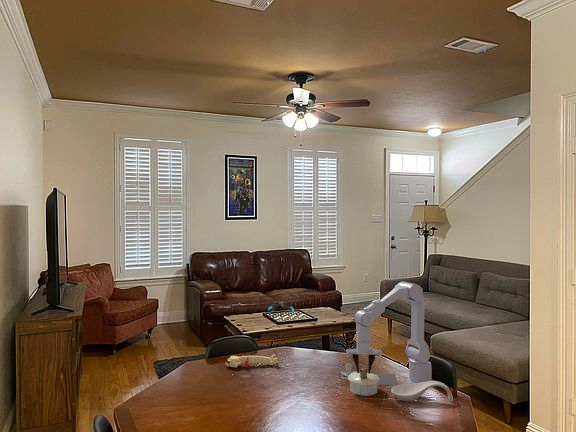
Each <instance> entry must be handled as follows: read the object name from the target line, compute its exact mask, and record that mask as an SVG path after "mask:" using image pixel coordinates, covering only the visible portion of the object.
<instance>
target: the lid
mask: <svg viewBox="0 0 576 432" xmlns="http://www.w3.org/2000/svg"><path fill="white" fill-rule="evenodd" d="M371 373H372V372H370V374H368V368H365V367H361V368H359V373H352V374H350V375H348V377H347V378H348V379H347V380H348V381H349V383H350V382H352V383H355V384H361V385H371V384H376V383H378V382H379V380H380V378H379V377H378V376H377V375H375V374H371Z"/></svg>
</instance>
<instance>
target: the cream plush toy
mask: <svg viewBox="0 0 576 432" xmlns="http://www.w3.org/2000/svg"><path fill="white" fill-rule="evenodd" d="M248 354H249V353H246V355H241V356H240V355H239V356H238V355H231V356H229V358H227V359H226V363H225V365H226V367H231V368H238V366H240V365H241V364H242V365H243V364H244V366H245V367H246V369H248V368H249V364H261V365H268V366H274V365H275V367H278V366H279V361H278V358H277V356H278V351H277V350H276V349H272V355H271V356H264V355H248Z"/></svg>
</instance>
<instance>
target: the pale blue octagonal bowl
mask: <svg viewBox="0 0 576 432" xmlns="http://www.w3.org/2000/svg"><path fill="white" fill-rule="evenodd" d="M349 389H350V390H349V391H350V392H351V393H352V394H354V395H359V396H373V395H375V394H377V393H378V385H377V383H376V384H371V385H361V384H355V383H352V382H350V381H349Z"/></svg>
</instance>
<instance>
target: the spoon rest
mask: <svg viewBox="0 0 576 432" xmlns="http://www.w3.org/2000/svg"><path fill="white" fill-rule="evenodd" d="M433 387H439V388H441V389H443V390H445V391H446V394H447V398H448V400H449V402H451V403H453V402H454V397H453V394H452V392H451V390H450V388H449V387H448V386H447V385H446V384H445V383H443V382H441V381H439V380H438V381H437V380H432V381H427V382H421V383H414V384H410V383H405V384H404V383H403V384H402V383H401V384H398V385H393V387H391V389H390V390H391V394H392V395H393V397H395V398H396V399H398V400H400V401H401V402H407V403H410V402H411V403H412V402H415V401H416V400H418V399H419V398H420V397H421V396H422V395H423V394H424V393H425V392H427V391H428V390H429V389H431V388H433Z"/></svg>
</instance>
